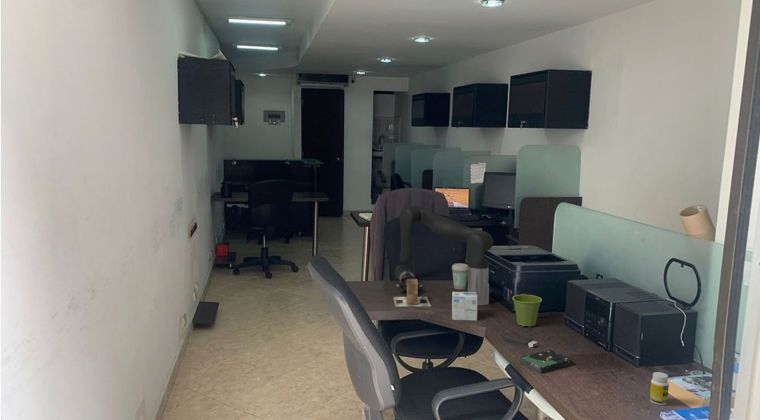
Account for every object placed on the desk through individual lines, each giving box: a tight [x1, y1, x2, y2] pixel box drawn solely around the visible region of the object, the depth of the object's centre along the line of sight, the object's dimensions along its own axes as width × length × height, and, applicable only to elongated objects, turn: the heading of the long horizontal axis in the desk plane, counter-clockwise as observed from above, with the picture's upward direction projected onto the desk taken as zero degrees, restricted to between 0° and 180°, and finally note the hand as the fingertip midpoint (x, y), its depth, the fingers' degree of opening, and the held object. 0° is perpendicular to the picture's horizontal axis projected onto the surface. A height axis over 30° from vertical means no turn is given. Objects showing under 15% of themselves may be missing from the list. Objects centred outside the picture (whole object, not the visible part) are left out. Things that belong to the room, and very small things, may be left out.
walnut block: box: [406, 278, 419, 305], centre depth 260 cm, size 4×4×11 cm
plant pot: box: [511, 294, 543, 327], centre depth 237 cm, size 12×12×11 cm
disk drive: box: [519, 349, 573, 375], centre depth 197 cm, size 10×3×15 cm
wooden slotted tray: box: [392, 296, 431, 307], centre depth 265 cm, size 16×15×2 cm
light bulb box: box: [451, 291, 478, 322], centre depth 245 cm, size 11×7×11 cm, turn 84°
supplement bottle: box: [649, 371, 670, 406], centre depth 170 cm, size 5×5×8 cm
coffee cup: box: [451, 262, 469, 290], centre depth 293 cm, size 8×9×12 cm
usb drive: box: [503, 333, 539, 348], centre depth 217 cm, size 5×12×3 cm, turn 44°
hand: (410, 290), depth 267 cm, fingers closed
